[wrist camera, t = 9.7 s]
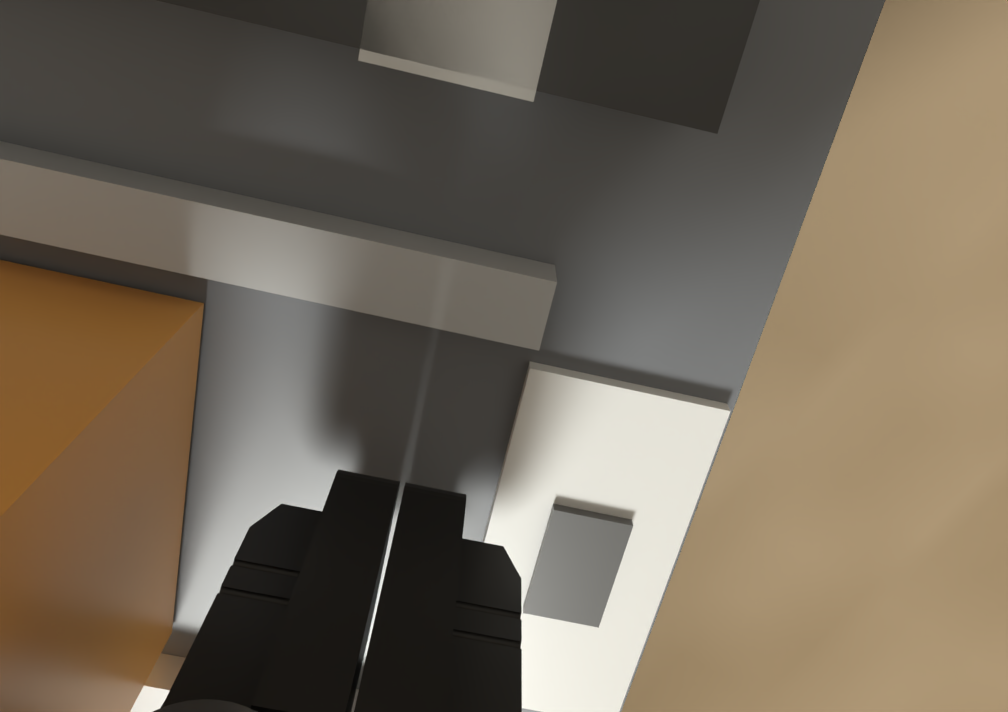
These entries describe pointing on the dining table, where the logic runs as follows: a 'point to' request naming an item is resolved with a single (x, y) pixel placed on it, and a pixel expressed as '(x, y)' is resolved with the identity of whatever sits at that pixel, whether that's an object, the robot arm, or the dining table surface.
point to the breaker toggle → (89, 485)
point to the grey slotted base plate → (539, 46)
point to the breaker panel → (429, 286)
